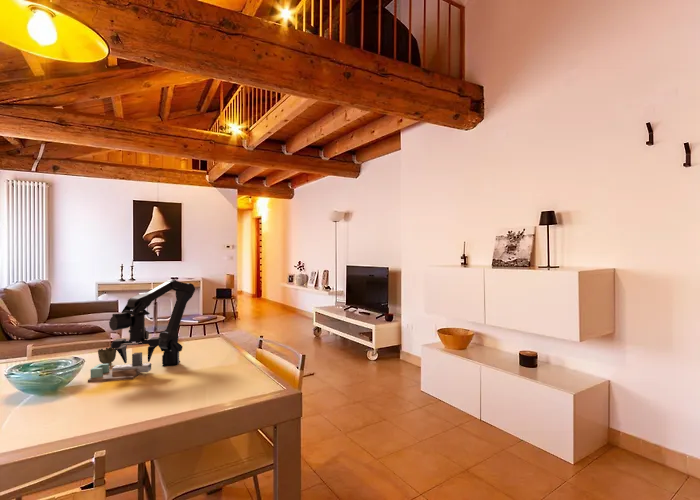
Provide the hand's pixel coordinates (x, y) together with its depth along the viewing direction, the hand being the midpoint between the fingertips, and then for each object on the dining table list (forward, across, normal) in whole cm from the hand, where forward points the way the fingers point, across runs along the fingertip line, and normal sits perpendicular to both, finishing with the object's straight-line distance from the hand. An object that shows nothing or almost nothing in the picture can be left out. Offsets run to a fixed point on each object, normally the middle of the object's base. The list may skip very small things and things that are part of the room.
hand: (137, 362), depth 162 cm
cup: (+5, +18, -17) cm, 26 cm away
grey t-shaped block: (+4, +2, 0) cm, 4 cm away
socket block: (+5, +14, 0) cm, 15 cm away
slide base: (+5, +8, 0) cm, 9 cm away
